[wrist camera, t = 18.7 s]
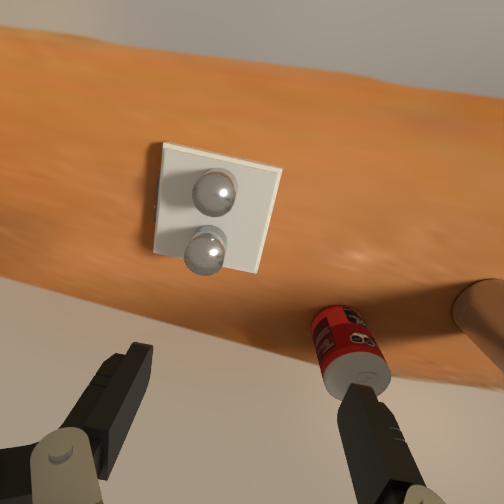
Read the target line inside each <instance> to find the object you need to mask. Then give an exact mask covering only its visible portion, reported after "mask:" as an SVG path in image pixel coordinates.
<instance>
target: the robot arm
mask: <svg viewBox="0 0 504 504" xmlns="http://www.w3.org/2000/svg"><path fill="white" fill-rule="evenodd" d="M452 315H453V319H454V322H455V323H456V324H457V326H458V327H459V328H460V329H461V330H462V331H463V332H464V333H465V334H466V335H467V336H468V337H469V338H470V339H471V340H472V341H473V342H474V343H475V344H476V345H477V346H478V347H479V348H480V349H481V350H482V351H483V352H484V354H485V355H486V356H487V357H488V358H489V359H490V360H491V361H492V362H493V363H494V364H495V365H496V366H497V367H498V368H499V369H500V370H501V371H502V372H503V373H504V280H500V279H489V280H484V281H481V282H478V283H475V284H474V285H472V286H470V287H468V288H467V289H466V290H464V291H463V292H462V293H461V294H460V295H459V297H458V298H457V300H456V301H455V303H454V306H453V310H452ZM152 355H153V345H148V344H143V343H138V342H133V343H132V344H131V346H130V348H129V350H128V351H127V353H126V355H123V354H118V353H115V354H114V355H112V356H111V357H110V358H108V359H107V360H106V361H104V362H103V364H102V365H101V367H100V368H99V370H98V371H97V373H96V375H95V376H94V377H93V379H92V380H91V382H90V384H89V386H88V387H87V388H86V389H85V391H84V392H83V394H82V395H81V397H80V398H79V400H78V401H77V403H76V405H75V406H74V408H73V409H72V411H71V412H70V414H69V415H68V416H67V418H66V420H65V421H64V423H63V424H62V425H61V426H60V427H59V429H58V430H55V431H53V432H51V433H49V434H48V435H46V436H45V437H44V438H43V439H42V440H41V441H39V442H37V443H34V444H31V445H26V446H20V447H13V448H6V449H0V504H103V501H102V496H101V492H100V487H99V483H98V479H100V480H106V481H107V480H108V478H109V475H110V473H111V471H112V468H113V466H114V464H115V461H116V459H117V457H118V455H119V452H120V450H121V447H122V445H123V443H124V441H125V438H126V436H127V434H128V431H129V429H130V427H131V424H132V422H133V420H134V417H135V415H136V412H137V410H138V408H139V406H140V403H141V401H142V399H143V396H144V394H145V392H146V389H147V386H148V383H149V379H150V374H151V365H152ZM337 423H338V428H339V432H340V436H341V440H342V444H343V448H344V452H345V455H346V460H347V463H348V467H349V471H350V475H351V478H352V483H353V487H354V491H355V495H356V498H357V502H358V504H446V503H445V502H444V501H443V500H442V499H441V498H440V497H439V496H438V495H437V494H436V493H435V492H433V491H432V490H430V489H429V488H427V487H426V485H425V483H424V480H423V478H422V476H421V474H420V472H419V469H418V467H417V465H416V463H415V461H414V458H413V456H412V454H411V452H410V450H409V447H408V445H407V443H406V442H405V439H404V437H403V434H402V432H401V431H400V428H399V426H398V423H397V421H396V419H395V417H394V415H393V414H392V412H391V411H390V410H389V409H388V408H387V406H386V405H385V404H384V403H382V402H378V399H377V397H376V395H375V392H374V390H373V388H372V387H371V386H366V385H361V384H355V383H351V384H350V385H349V387H348V389H347V392H346V394H345V396H344V398H343V400H342V403H341V405H340V407H339V409H338V414H337Z"/></svg>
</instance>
